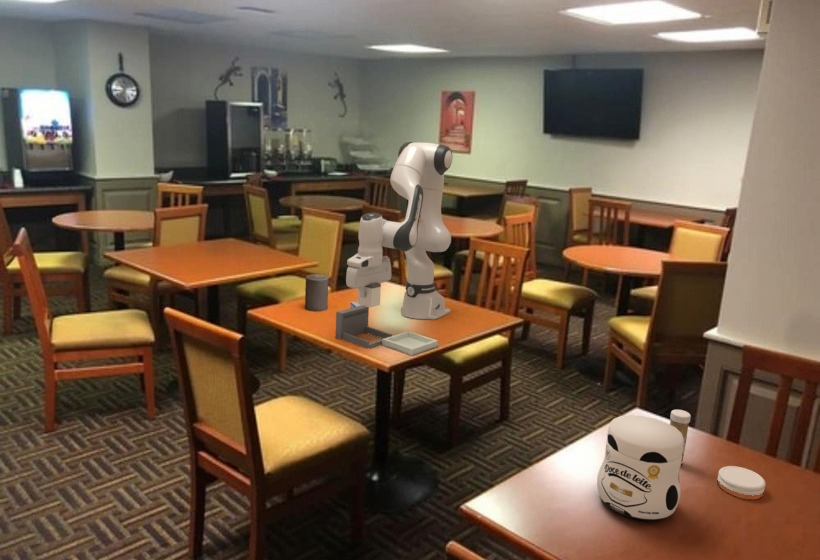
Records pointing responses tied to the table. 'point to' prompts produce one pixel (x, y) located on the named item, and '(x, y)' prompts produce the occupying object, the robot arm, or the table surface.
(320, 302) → the pillar candle
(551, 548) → the table surface
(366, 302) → the block
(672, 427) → the doce de leite jar
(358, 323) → the bay
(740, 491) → the white round piece
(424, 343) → the tray
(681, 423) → the sprinkles bottle
